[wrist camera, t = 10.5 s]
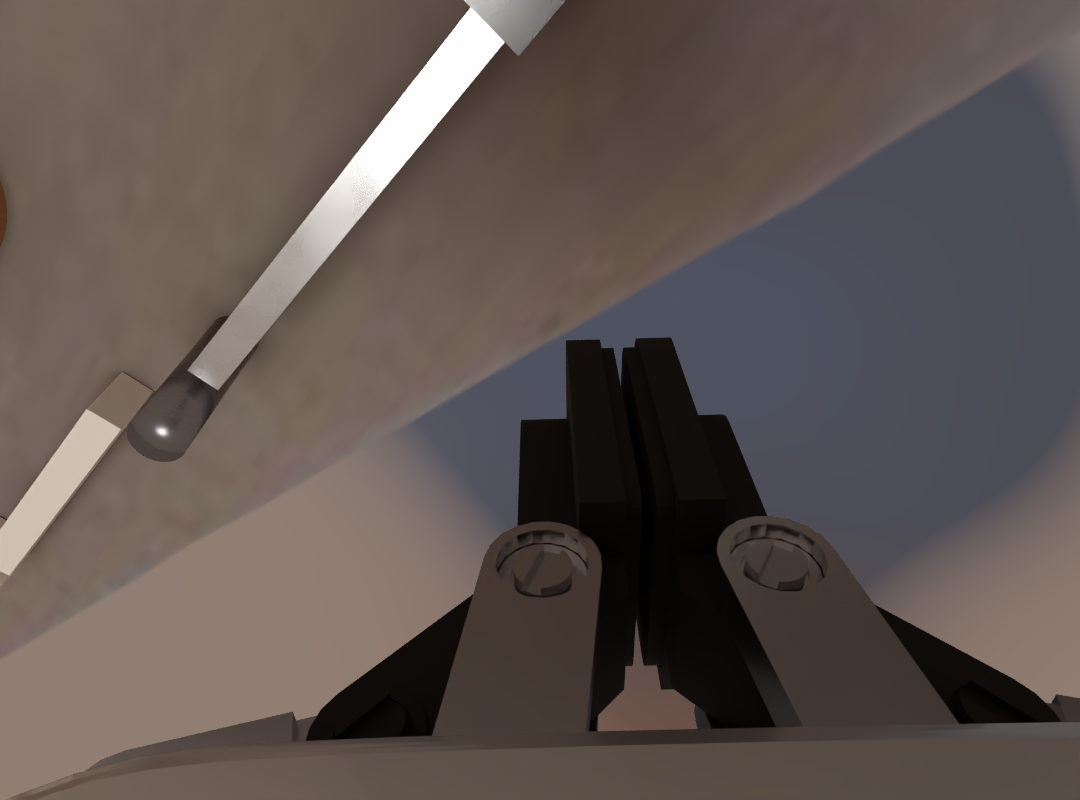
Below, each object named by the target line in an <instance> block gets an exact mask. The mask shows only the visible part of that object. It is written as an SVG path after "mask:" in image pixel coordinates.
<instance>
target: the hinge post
mask: <svg viewBox="0 0 1080 800" xmlns="http://www.w3.org/2000/svg"><path fill="white" fill-rule="evenodd" d="M228 318H229V316H226V317H222V318H219V319H217V320H216V321H215V322H214V323H213V324H212V326H211V327H210V328H209V329H208V330H207V332H206V333H205V334H204V335H203V336H202V337H201V339H200V340H199V341H198V342H197V343H196V345H195V346H194V347H193V348H192V349H191V351H190V352H189V353H188V354H187V355H186V356H185V358H184V359H183V360H182V361H181V362H180V364H179V365H178V366H177V367H176V368H175V369H174V371H173V372H172V373H171V374H170V375H169V377H168V378H167V379H166V380H165V381H164V383H163V384H162V385H161V386H160V387H159V388H158V390H157V391H156V392H155V393H154V394H153V396H152V397H151V398H150V399H149V400H148V402H147V403H146V404H145V405H144V406H143V407H142V409H141V410H140V411H139V412H138V413H137V415H136V416H135V417H134V418H133V419H132V420H131V422H130V423H129V425H128V427H127V437H128V440H129V442H130V444H131V445H132V446H133V448H134V449H135V450H136V451H138V452H139V453H140V454H142V455H143V456H145V457H147V458H149V459H152V460H155V461H161V462H169V461H174V460H177V459H179V458H180V457H181V456H182V455H183V454H184V453H185V452H186V450H187V449H188V447H189V446H190V444H191V443H192V441H193V440H194V438H195V437H196V436H197V434H198V433H199V431H200V430H201V428H202V427H203V425H204V424H205V422H206V421H207V419H208V418H209V417H210V415H211V414H212V412H213V411H214V409H215V408H216V406H217V405H218V403H219V402H220V401H221V399H222V398H223V396H224V395H225V393H226V392H227V390H228V389H229V387H230V386H231V385H232V383H233V382H234V380H235V379H236V377H237V376H238V374H239V373H240V371H241V370H242V369H243V367H244V366H245V364H246V363H247V361H248V360H249V358H250V357H251V355H252V354H253V353H254V351H255V350H256V348H257V345H258V342H257V344H256V345H255V346H254V347H253V348H252V350H251V351H250V352H249V353H248V355H247V356H246V357H245V358H244V359H243V361H242V362H241V363H240V364H239V365H238V367H237V368H236V369H235V370H234V372H233V373H232V374H231V375H230V376H229V378H228V379H227V380H226V381H225V382H224V384H223V385H222V386H221V387H220V389H219V390H217V389H215V388H214V387H212V386H211V385H209V384H208V383H206V382H204V381H203V380H201V379H200V378H198V377H197V376H195V375H194V374H192V373H191V372H189V371H187V370H188V369H189V368H190V366H191V365H192V364H193V362H194V361H195V360H196V359H197V357H198V356H199V355H200V354H201V352H202V351H203V350H204V348H205V347H206V346H207V345H208V343H209V342H210V341H211V339H212V338H213V337H214V336H215V334H216V333H217V332H218V330H219V329H220V328H221V327H222V325H223V324H224V323H225V322H226V320H227V319H228Z"/></svg>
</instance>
